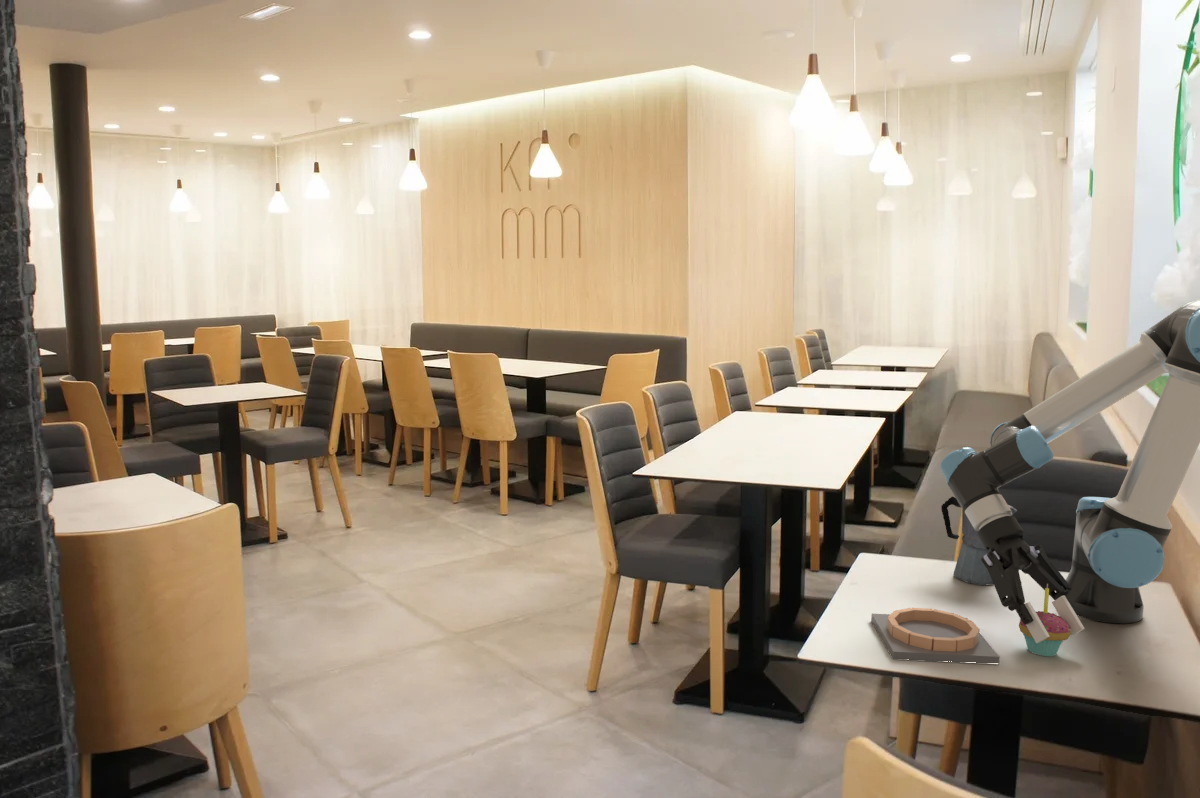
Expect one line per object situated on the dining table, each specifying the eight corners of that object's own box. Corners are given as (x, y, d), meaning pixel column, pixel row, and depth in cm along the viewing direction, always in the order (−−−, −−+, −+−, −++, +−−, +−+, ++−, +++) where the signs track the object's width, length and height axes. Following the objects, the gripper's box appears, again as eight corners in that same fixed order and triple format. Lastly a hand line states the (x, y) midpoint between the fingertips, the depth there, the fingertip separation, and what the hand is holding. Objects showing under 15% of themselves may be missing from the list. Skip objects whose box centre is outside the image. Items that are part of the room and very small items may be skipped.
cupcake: (1014, 639, 175) (1020, 576, 173) (1065, 645, 173) (1071, 582, 171) (1019, 657, 167) (1025, 592, 165) (1072, 664, 164) (1079, 598, 163)
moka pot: (1015, 589, 202) (1023, 498, 199) (939, 583, 205) (946, 493, 202) (1005, 575, 211) (1013, 488, 209) (933, 569, 214) (940, 483, 212)
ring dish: (966, 625, 181) (967, 608, 181) (998, 664, 164) (1000, 645, 163) (871, 620, 183) (872, 603, 182) (893, 659, 165) (894, 640, 164)
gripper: (1021, 528, 185) (1086, 635, 174) (941, 539, 176) (1004, 654, 164) (1046, 508, 180) (1115, 618, 168) (966, 519, 171) (1033, 636, 159)
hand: (1060, 635), depth 166 cm, fingers closed on cupcake, 8 cm apart
